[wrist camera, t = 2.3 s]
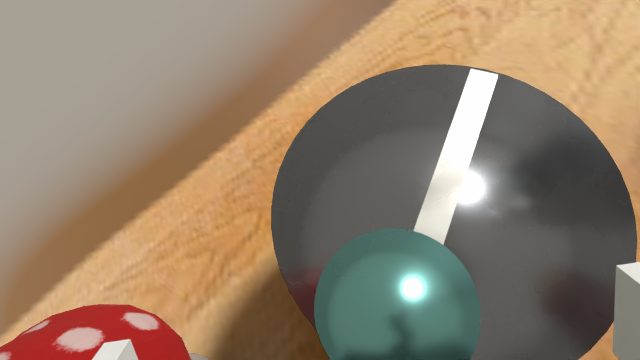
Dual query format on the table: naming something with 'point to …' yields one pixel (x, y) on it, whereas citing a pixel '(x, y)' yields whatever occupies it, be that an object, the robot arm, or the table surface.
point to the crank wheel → (451, 221)
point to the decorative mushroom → (97, 335)
